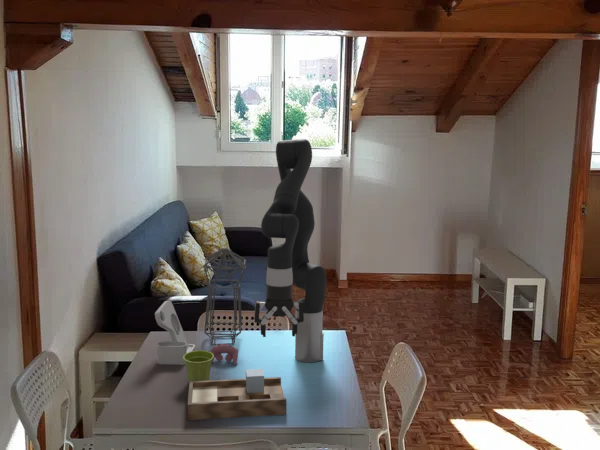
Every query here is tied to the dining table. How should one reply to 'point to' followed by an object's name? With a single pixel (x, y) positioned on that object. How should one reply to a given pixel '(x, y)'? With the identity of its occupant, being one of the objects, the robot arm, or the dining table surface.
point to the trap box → (234, 399)
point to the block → (254, 380)
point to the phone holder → (179, 346)
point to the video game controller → (224, 348)
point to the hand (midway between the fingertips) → (278, 335)
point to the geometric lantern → (209, 298)
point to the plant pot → (198, 365)
